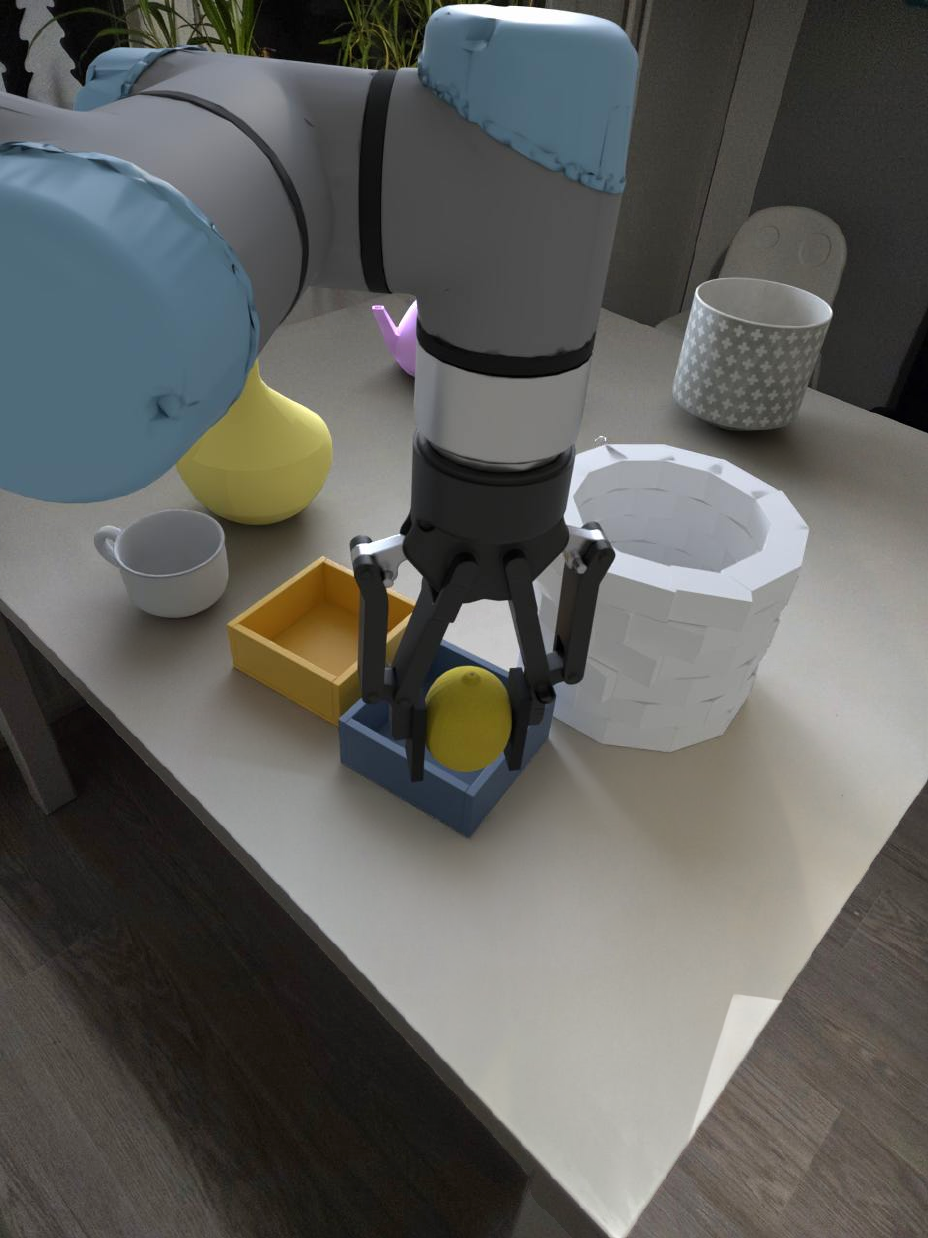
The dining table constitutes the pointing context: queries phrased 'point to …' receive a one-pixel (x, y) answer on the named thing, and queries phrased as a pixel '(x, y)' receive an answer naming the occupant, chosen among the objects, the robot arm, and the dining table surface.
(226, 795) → the dining table surface
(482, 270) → the robot arm
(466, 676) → the lemon
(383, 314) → the teapot
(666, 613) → the white brick well
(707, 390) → the planter
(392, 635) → the yellow bin
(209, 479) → the vase
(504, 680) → the blue bin
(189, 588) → the teacup
